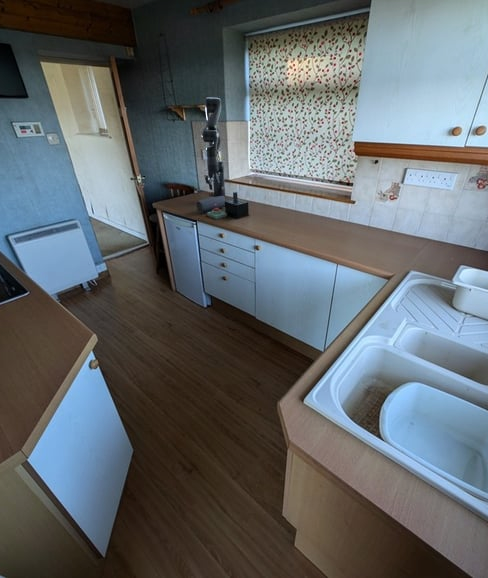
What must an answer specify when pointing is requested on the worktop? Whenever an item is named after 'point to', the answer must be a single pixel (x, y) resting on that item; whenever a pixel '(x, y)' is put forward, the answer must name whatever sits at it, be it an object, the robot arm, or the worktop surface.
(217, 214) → the button block
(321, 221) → the worktop surface
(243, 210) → the toaster
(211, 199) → the bluetooth speaker
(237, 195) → the slider
